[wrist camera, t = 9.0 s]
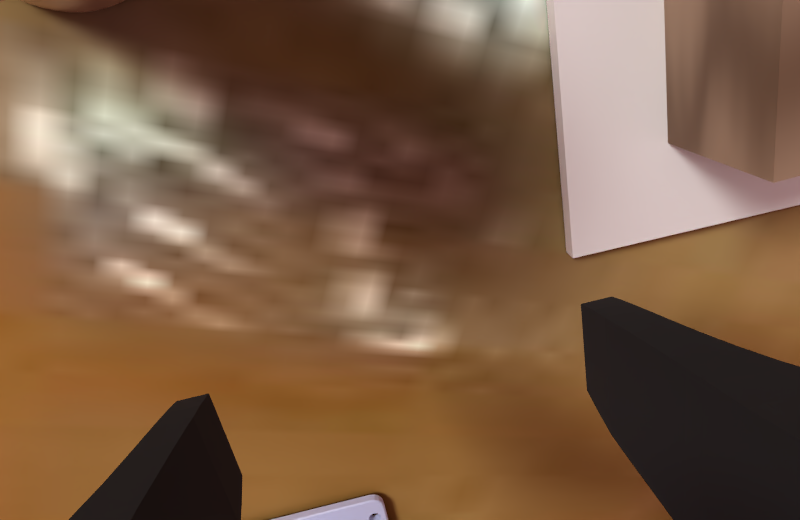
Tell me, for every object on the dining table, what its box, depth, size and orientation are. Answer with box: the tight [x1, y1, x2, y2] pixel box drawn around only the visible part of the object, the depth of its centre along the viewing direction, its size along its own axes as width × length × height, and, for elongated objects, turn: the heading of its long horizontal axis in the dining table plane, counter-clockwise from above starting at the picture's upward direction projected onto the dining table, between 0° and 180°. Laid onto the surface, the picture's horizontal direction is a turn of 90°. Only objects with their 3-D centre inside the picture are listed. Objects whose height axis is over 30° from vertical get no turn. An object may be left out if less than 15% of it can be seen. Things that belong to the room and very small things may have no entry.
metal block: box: [664, 0, 800, 183], centre depth 17 cm, size 5×5×5 cm
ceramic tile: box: [546, 0, 800, 258], centre depth 19 cm, size 12×12×1 cm
